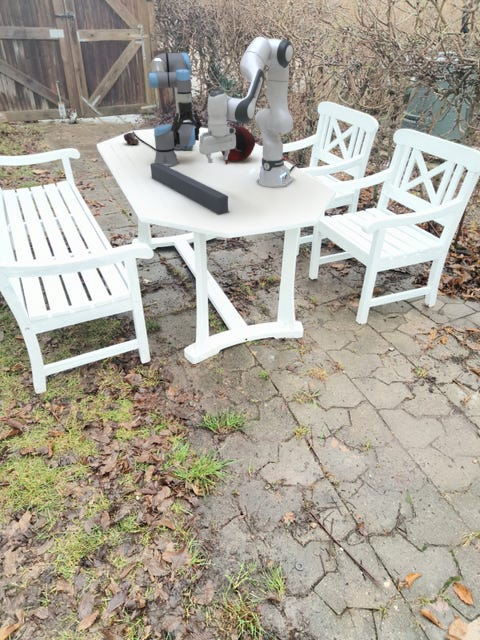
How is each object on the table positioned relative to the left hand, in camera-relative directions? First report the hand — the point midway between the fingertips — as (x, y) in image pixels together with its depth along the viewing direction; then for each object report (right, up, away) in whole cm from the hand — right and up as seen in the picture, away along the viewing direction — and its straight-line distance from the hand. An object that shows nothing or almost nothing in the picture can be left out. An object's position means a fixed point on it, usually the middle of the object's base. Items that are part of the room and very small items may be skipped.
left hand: (187, 142), depth 259 cm
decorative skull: (+28, +6, +43) cm, 52 cm away
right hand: (+20, -27, -45) cm, 56 cm away
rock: (-52, +30, +79) cm, 99 cm away
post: (+1, -33, -13) cm, 35 cm away
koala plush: (-13, +23, +69) cm, 74 cm away
